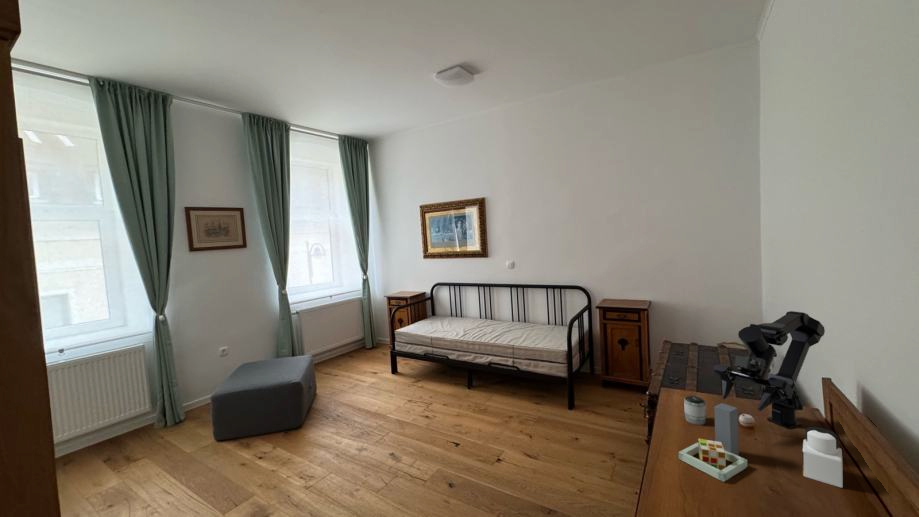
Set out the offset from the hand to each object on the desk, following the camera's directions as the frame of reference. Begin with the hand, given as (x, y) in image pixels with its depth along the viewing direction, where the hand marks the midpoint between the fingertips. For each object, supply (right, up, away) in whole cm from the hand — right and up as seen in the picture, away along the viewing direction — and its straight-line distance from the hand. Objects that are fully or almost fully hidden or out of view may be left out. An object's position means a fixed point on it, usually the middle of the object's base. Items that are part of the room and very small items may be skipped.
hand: (740, 404), depth 108 cm
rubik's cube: (-13, -15, -6) cm, 21 cm away
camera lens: (-3, -13, +17) cm, 21 cm away
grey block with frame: (-11, -14, -5) cm, 19 cm away
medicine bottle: (+11, -13, -14) cm, 22 cm away
